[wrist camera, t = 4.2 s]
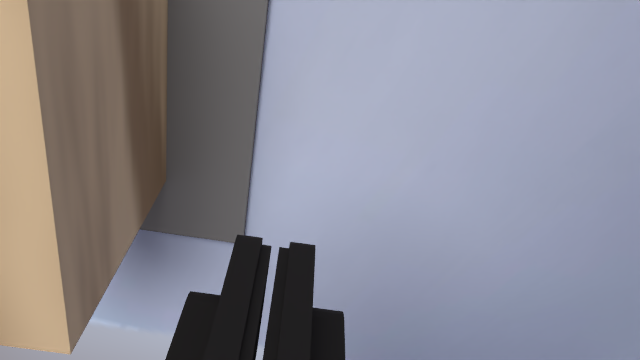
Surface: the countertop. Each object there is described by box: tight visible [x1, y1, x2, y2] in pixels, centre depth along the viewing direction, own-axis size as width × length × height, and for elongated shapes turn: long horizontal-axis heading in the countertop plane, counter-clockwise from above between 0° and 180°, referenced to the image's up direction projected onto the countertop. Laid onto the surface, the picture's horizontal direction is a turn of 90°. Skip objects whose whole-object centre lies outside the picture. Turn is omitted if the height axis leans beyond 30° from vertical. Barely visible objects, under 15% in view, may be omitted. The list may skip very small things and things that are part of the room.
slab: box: [0, 0, 168, 354], centre depth 17 cm, size 4×12×10 cm, turn 171°
